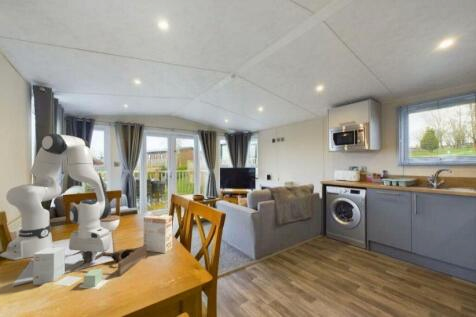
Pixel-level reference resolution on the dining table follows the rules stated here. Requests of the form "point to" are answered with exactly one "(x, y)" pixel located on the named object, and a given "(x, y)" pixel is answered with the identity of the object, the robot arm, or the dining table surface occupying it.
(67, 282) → the broken strip
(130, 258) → the sled strip
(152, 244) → the coffeecake box
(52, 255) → the small box
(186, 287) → the dining table surface
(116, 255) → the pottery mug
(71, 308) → the dining table surface
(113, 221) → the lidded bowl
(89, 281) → the sage cube
